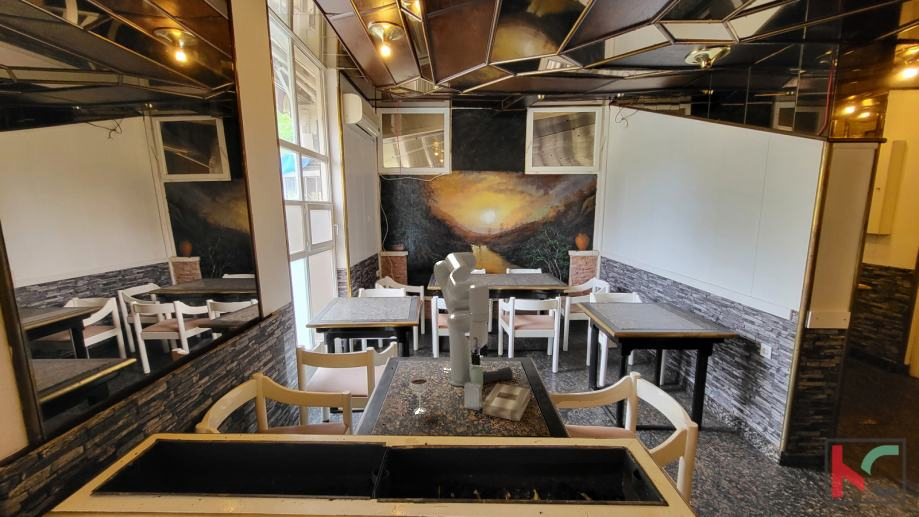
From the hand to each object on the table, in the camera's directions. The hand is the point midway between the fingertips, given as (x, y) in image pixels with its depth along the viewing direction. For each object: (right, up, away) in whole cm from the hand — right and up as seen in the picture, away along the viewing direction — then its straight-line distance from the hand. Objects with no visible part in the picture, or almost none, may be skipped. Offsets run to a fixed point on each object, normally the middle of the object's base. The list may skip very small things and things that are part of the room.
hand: (479, 360), depth 130 cm
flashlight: (+9, -17, +25) cm, 31 cm away
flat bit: (-3, -19, +1) cm, 19 cm away
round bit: (0, -18, +17) cm, 24 cm away
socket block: (+11, -19, +2) cm, 22 cm away
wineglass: (-23, -20, 0) cm, 30 cm away
